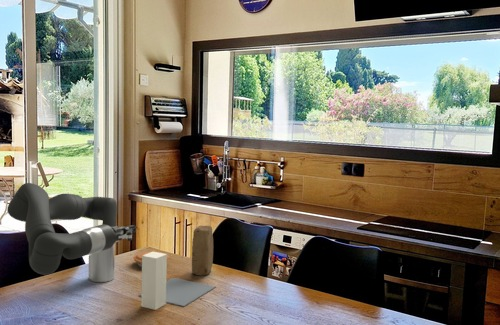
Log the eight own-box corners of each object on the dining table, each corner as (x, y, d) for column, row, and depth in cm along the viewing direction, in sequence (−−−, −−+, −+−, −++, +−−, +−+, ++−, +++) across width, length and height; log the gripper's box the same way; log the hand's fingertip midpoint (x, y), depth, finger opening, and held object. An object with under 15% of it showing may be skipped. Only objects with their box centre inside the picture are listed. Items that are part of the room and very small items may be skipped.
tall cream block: (141, 306, 159) (142, 255, 157) (152, 300, 164) (153, 251, 162) (155, 309, 156) (156, 258, 154) (165, 303, 161) (166, 254, 160)
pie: (175, 265, 205) (175, 254, 205) (146, 272, 194) (146, 261, 193) (155, 257, 216) (155, 247, 215) (126, 264, 204) (126, 253, 204)
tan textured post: (206, 277, 191) (207, 230, 189) (189, 275, 192) (190, 228, 191) (214, 269, 201) (215, 224, 199) (198, 267, 203) (199, 223, 201)
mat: (138, 295, 168) (138, 294, 168) (173, 278, 188) (173, 277, 188) (184, 306, 159) (184, 305, 159) (215, 287, 179) (215, 286, 179)
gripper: (112, 229, 129) (151, 219, 144) (77, 224, 135) (118, 214, 150) (112, 256, 129) (150, 242, 145) (77, 249, 135) (118, 237, 151)
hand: (134, 228), depth 148 cm, fingers closed
